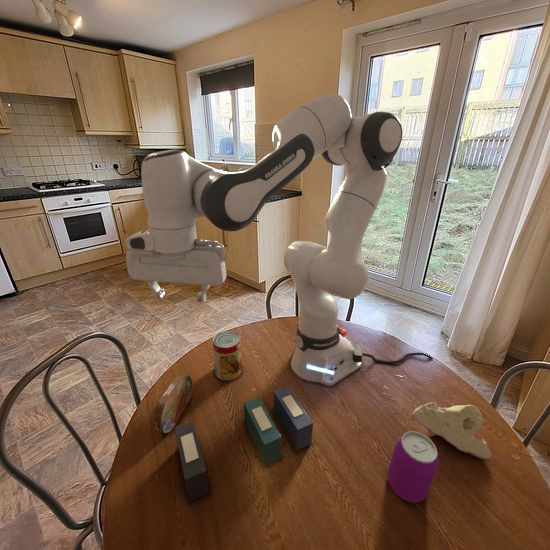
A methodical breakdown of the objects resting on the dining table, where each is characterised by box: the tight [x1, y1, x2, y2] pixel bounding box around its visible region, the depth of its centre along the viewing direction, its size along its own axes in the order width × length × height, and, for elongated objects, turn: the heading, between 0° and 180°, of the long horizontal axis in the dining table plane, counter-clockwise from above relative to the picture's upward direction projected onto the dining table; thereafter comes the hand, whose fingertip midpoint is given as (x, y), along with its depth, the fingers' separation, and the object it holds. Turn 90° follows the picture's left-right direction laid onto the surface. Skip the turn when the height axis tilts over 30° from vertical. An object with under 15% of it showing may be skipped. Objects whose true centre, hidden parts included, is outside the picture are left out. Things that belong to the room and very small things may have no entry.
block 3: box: [272, 385, 314, 451], centre depth 71 cm, size 4×12×7 cm, turn 26°
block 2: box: [243, 396, 282, 467], centre depth 67 cm, size 4×12×7 cm, turn 26°
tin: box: [151, 374, 193, 434], centre depth 73 cm, size 15×3×8 cm, turn 168°
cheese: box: [411, 400, 492, 460], centre depth 69 cm, size 15×7×15 cm
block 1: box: [174, 420, 210, 503], centre depth 61 cm, size 4×12×7 cm, turn 26°
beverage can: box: [387, 430, 440, 504], centre depth 58 cm, size 8×8×12 cm
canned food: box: [212, 330, 242, 381], centre depth 87 cm, size 8×8×12 cm
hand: (181, 299), depth 64 cm, fingers open, 8 cm apart
